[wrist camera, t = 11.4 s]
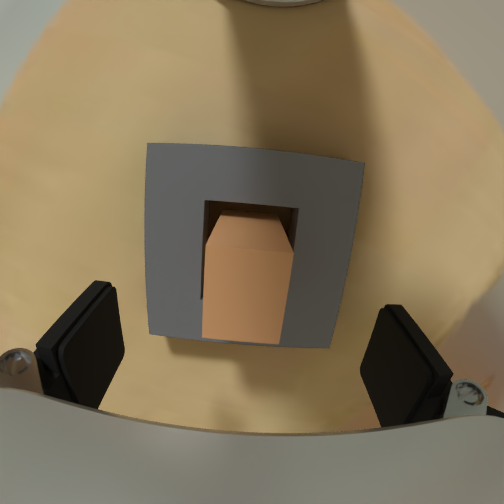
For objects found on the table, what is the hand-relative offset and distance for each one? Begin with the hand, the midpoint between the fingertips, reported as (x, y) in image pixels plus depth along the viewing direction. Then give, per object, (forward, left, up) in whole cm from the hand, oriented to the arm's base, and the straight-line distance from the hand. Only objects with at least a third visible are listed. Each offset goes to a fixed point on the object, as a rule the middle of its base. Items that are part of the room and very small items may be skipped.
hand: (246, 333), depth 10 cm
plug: (+1, 0, -13) cm, 13 cm away
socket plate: (+1, 0, -13) cm, 13 cm away
